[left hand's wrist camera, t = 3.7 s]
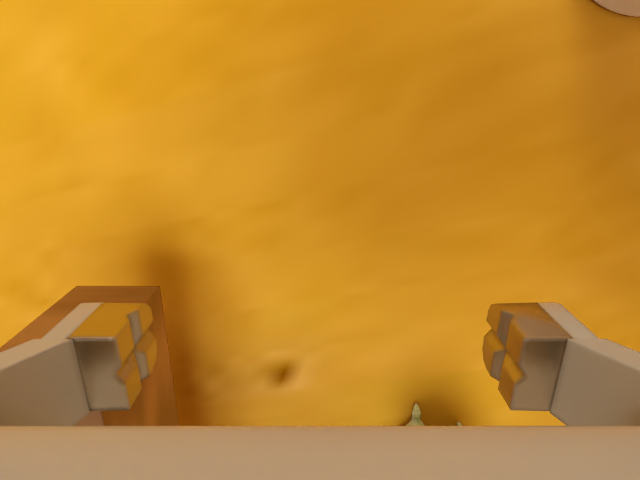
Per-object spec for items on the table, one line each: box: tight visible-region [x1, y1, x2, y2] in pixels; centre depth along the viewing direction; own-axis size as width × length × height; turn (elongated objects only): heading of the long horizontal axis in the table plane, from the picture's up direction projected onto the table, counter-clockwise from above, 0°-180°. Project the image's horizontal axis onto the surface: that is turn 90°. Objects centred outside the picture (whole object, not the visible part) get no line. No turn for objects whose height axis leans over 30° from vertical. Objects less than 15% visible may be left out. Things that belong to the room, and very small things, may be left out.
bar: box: [0, 286, 179, 426], centre depth 29 cm, size 24×6×9 cm, turn 0°
